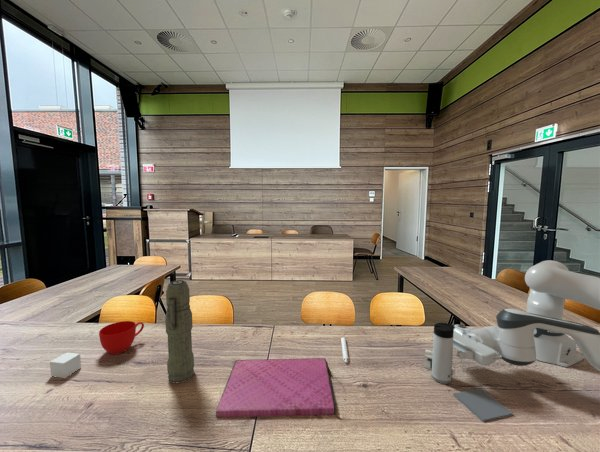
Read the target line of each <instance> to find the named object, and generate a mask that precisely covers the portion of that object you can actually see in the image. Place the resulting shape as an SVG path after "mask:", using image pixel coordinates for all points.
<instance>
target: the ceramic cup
mask: <svg viewBox="0 0 600 452" xmlns="http://www.w3.org/2000/svg"><path fill="white" fill-rule="evenodd" d="M139 325H141V327H140V329H139V330H138V331H137V332H136V330H137V327H138V326H139ZM144 327H145V324H144V323H143V322H141V321H138V322H135V321H131V320H124V321H117V322H113V323H110V324H108V325H106V326H103V327H102V328H101V329H100V330H99V331H98V335H99V336H98V337H99V341H100V345H101V347H102V348H103V349H104V351H106V352H107V353H109V354H110V353H111V354H110V355H119V354H118V353H120V354H122V353H121V352H123V353H125V352H126V351H127V349H128V350H129V348H130V347H131V346H132V345H133V343H134V341H135V338H136V337H137V336H138V335H139V334H140V333H141V332H142V331H143V329H144ZM125 350H126V351H125ZM124 351H125V352H124Z"/></svg>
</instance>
